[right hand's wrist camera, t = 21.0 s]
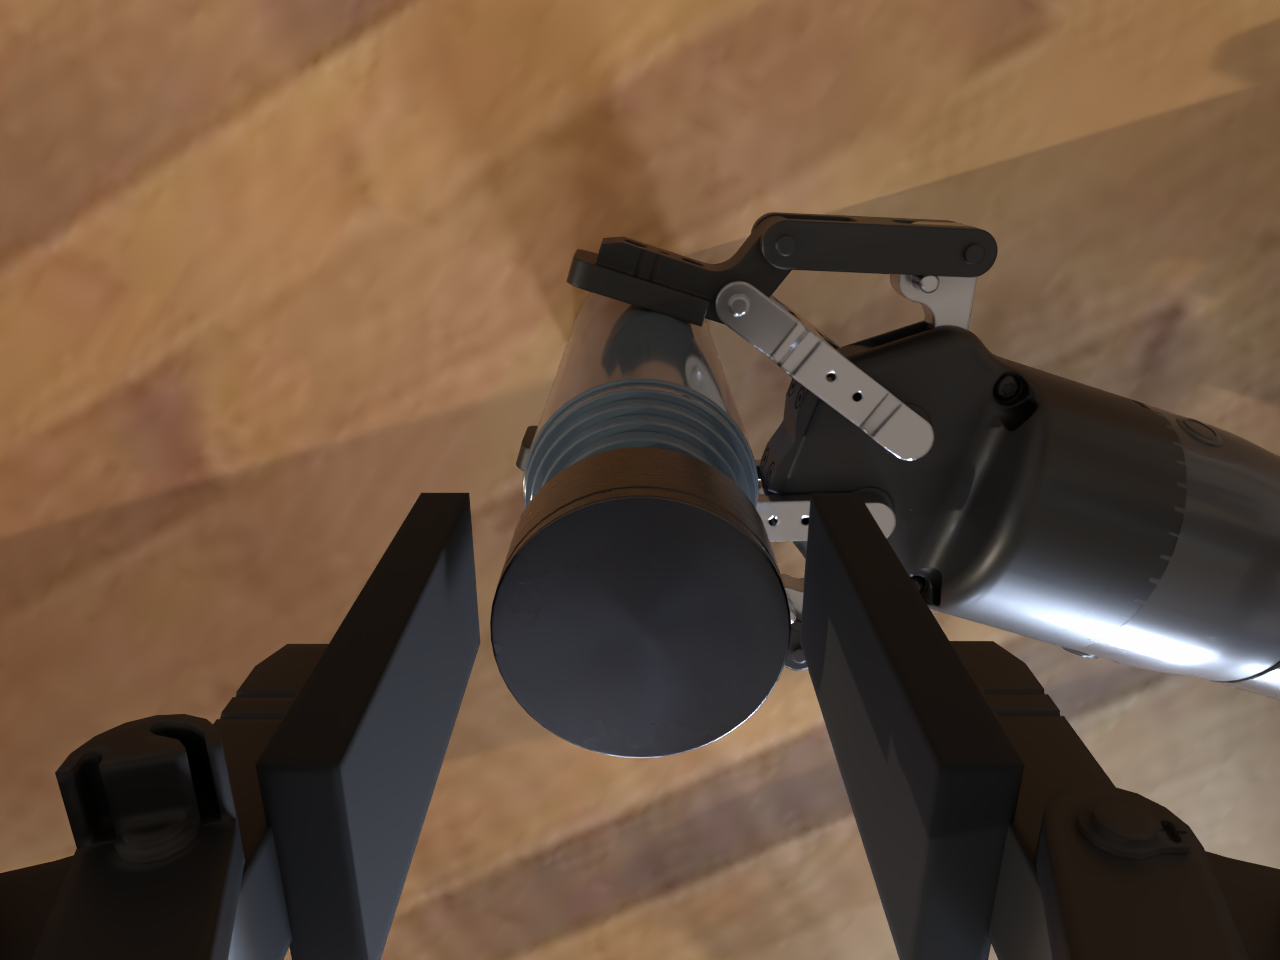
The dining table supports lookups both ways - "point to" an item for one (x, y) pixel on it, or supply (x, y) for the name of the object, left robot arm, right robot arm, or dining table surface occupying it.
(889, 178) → the dining table surface
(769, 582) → the cap
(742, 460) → the bottle
